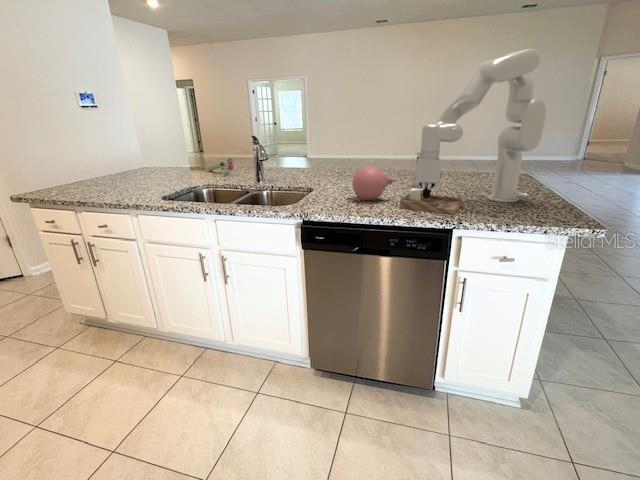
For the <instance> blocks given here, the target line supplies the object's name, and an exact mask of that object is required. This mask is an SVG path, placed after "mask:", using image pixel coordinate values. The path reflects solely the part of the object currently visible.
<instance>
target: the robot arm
mask: <svg viewBox="0 0 640 480" xmlns="http://www.w3.org/2000/svg"><path fill="white" fill-rule="evenodd" d="M540 62H541V54H540V52H539V51H538V50H537V49H535V48H526V49H522V50H518V51H517V50H516V51H512V52H510V53H506V54H505V55H503V56H502V57H497V58H494V59H489V60H486V61H483V62H482V63H480V64H479V65H478V66H477V68H476V70H475V71H474V73H473V74H472V76H471V78H470V79H469V80H468V82H467V84H466V85H465V87H464V89H462V92H461V93H460V95H459V96H458V97H457V98H456V99H455V100H453V102H452V103H451V104H450V105H449V106H448V107H446V109H445V110H444V111H443V112H442V114H441V115H440V117H439V118H438V119H437V121H436V123H429V124H428V123H427V124H424V125H423V127H422V129H421V143H420V145H421V146H420V151H417V153H416V155H417V156H420V158H418V161H417V160H416V163H417V166H416V165H415V172H414V185H415V184H418V185H420V186H421V187H422V189H423V196H424V199H425V198H426V199H428V198H429V197H430V195H432V191H431V189H433V188H434V187H438V186H439V187H440V185H441V179H442V163H441V162H442V159H441V158H440V151H441V143H443V142H444V143H455V142H457V141H459V140H460V139H461V138H462V136H463V134H464V130H463V127H462V126H461V124H459V123H457V121H459V120H460V119H461V118H462V117H463V116H464V115H466V114H467V113H469V112H471V111H473V110H475V109H476V108H477V107H479V106H480V105H481V103H482V102H483V100H484V99H485V96H486V95H487V94H488V92H489V90H490V89H491V88H492V86H493V84H498V83H504V82H508V85H509V91H508V98H507V104H506V111H505V116H506V117H505V119H506V120H507V121H508V122H509V123H513V124H520V126H517V125H514V126H508V127H506V128H503V129H502V130H501V132H500V133H499V135H498V137H497V138H498V139H497V150H498V151H497V159H496V164H495V172H494V178H493V184H492V189H491V193H490V194H488V195H487V197H486V198H487V199H488V200H490V201H492V202H498V203H517V202H518V201H519V199H520V198H522V199H523V198H525V199H527V197H528V193H525V192H520V191H518V182H519V178H520V172H521V167H522V161H523V156H522V155H523V154H522V152H524V153H526V152H532V151H534V150H535V149H537V147H538V146H539V145H540V143H541V140H542V137H543V132H544V127H545V122H546V117H547V105H546V103H545V101H544V100H542V98H538V97H533V94H534V85H535V84H534V83H535V82H534V78H533V75H532V72H534V71H535V70H537V68H538V66H539V65H540ZM426 183H428V188H427V185H426Z"/></svg>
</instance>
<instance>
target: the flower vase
mask: <svg viewBox="0 0 640 480" xmlns="http://www.w3.org/2000/svg"><path fill="white" fill-rule="evenodd" d="M233 159H234V158H233V157H232V158H230V157H228V159H227V160H226V161H227V162H225V161H223V160H222V159H221V160H219V161H217V162H216V163H215V164H214V163H213V164H207V165H206V167H205V168H206V171H207V170H209V171H210V172H212V171H214V170H217V169H220V170H221V171H224V176H227V175H229V174H230V173H229V172H232V171H234V168H235V167H234V160H233ZM209 171H208V172H209Z"/></svg>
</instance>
